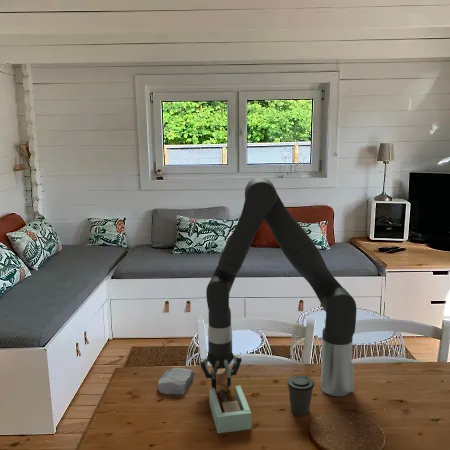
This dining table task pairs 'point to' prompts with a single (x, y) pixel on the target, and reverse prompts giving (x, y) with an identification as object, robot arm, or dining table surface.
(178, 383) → the stone block
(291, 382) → the coffee cup
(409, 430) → the dining table surface
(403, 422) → the dining table surface
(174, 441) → the dining table surface
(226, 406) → the wooden cube dumbbell
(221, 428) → the channel
